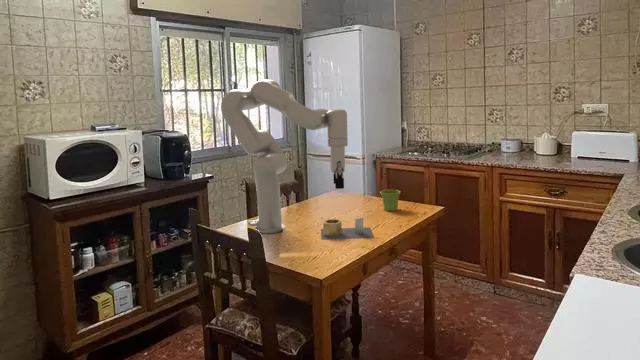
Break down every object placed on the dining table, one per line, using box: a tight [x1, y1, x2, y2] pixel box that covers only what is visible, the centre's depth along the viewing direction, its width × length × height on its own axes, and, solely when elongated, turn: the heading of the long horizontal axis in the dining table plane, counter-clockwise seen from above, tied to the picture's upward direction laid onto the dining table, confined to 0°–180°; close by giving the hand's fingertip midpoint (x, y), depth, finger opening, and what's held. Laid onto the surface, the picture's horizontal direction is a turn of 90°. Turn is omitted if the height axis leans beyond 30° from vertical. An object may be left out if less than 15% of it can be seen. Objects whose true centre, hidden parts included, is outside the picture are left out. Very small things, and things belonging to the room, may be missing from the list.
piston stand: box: [320, 216, 375, 241], centre depth 198 cm, size 20×14×7 cm
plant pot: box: [379, 189, 401, 212], centre depth 237 cm, size 9×9×9 cm
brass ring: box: [322, 218, 342, 237], centre depth 198 cm, size 7×7×5 cm
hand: (338, 185), depth 197 cm, fingers open, 9 cm apart
